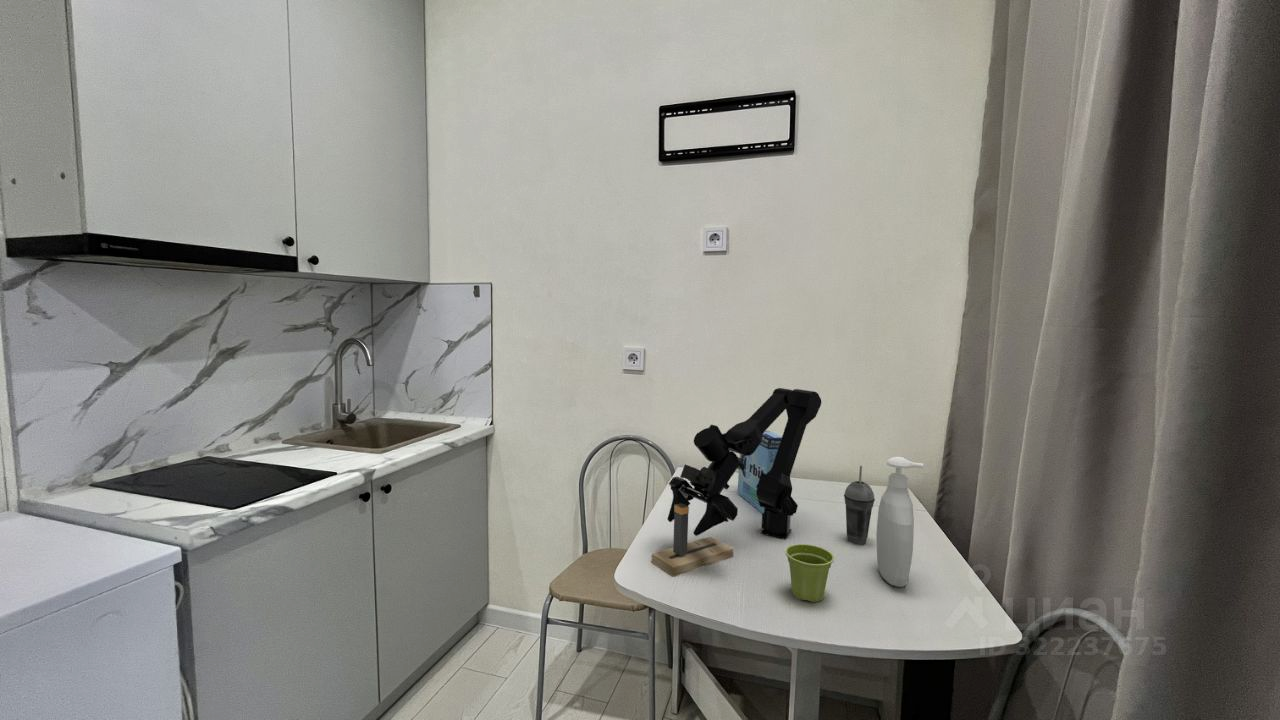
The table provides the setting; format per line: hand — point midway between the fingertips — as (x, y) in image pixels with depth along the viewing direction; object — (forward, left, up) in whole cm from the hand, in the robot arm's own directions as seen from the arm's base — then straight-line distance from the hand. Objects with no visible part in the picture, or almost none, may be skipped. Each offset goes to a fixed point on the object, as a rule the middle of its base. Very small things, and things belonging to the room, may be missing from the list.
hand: (681, 527), depth 118 cm
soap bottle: (-43, -20, -9) cm, 48 cm away
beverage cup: (-33, -36, -9) cm, 49 cm away
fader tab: (0, 0, -6) cm, 6 cm away
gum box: (-3, -49, -9) cm, 50 cm away
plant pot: (-28, -2, -9) cm, 29 cm away
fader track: (-2, -3, -8) cm, 9 cm away
